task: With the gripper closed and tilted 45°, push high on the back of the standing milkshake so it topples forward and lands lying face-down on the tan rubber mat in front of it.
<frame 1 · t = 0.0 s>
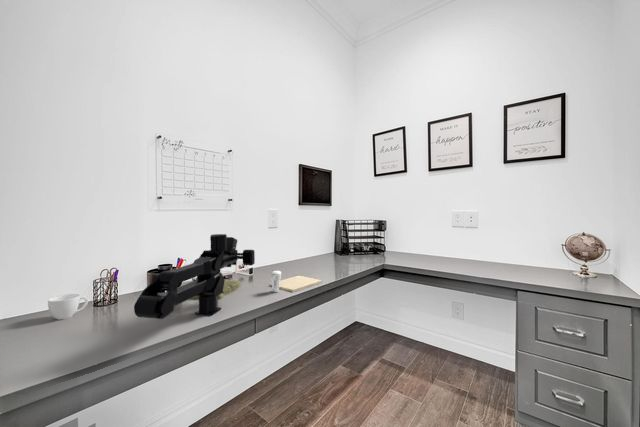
hand: (242, 253, 120), 17 cm above the table, tool horizontal, fingers open, 9 cm apart
cup: (69, 316, 92), on the table
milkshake: (275, 291, 119), on the table
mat: (296, 284, 130), on the table
olive green cushion: (213, 293, 119), on the table
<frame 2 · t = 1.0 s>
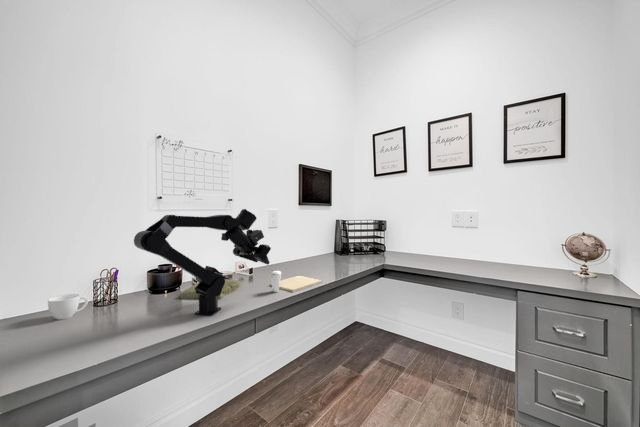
hand: (263, 262, 114), 14 cm above the table, tool tilted 45°, fingers open, 7 cm apart
nothing on the table moved.
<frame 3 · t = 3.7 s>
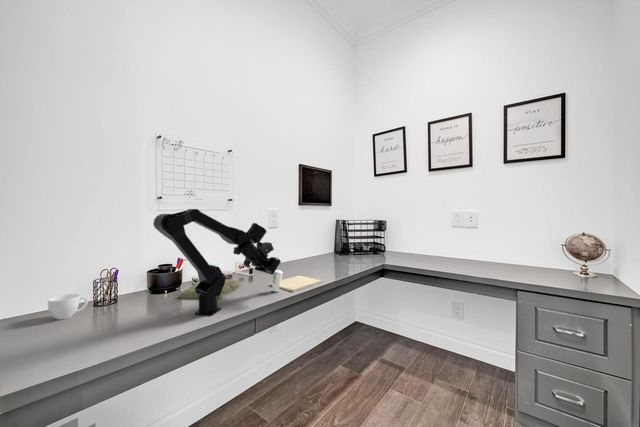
hand: (272, 273, 118), 8 cm above the table, tool tilted 45°, fingers closed
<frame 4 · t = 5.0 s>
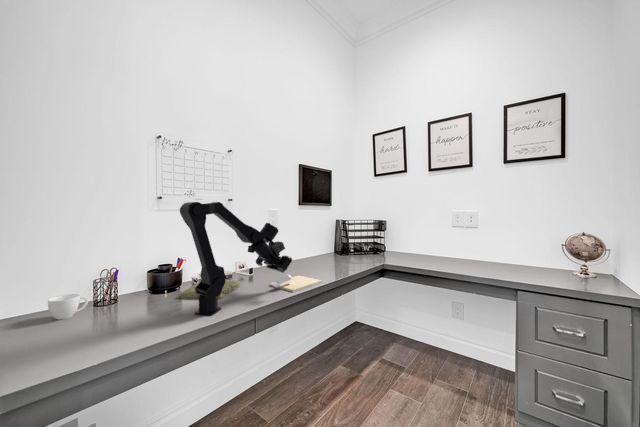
hand: (283, 271, 123), 8 cm above the table, tool tilted 45°, fingers closed
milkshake: (275, 285, 120), point 2 cm above the table, touching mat
everything else where it was.
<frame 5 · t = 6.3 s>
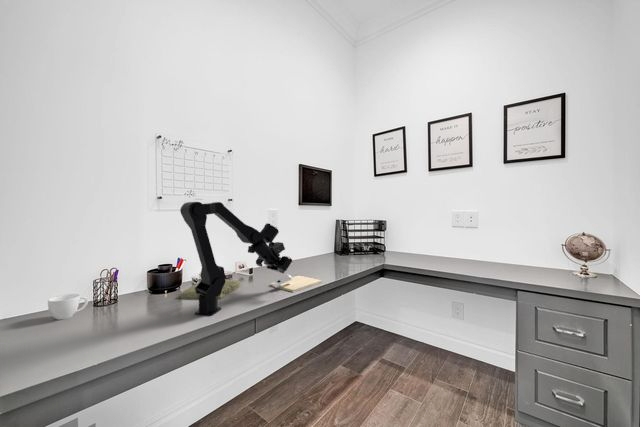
hand: (283, 272, 123), 7 cm above the table, tool tilted 45°, fingers closed
nothing on the table moved.
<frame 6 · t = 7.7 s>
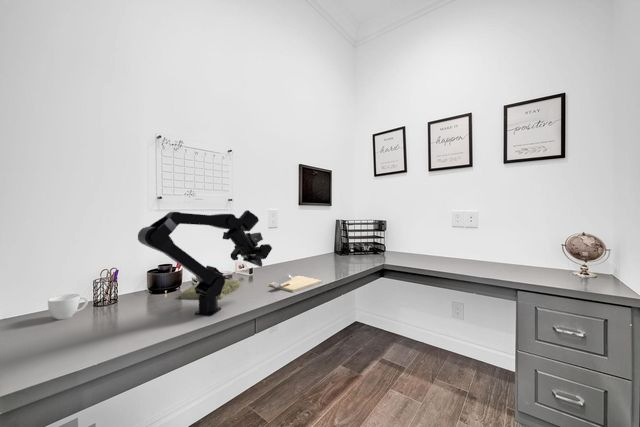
hand: (261, 265, 113), 12 cm above the table, tool tilted 40°, fingers closed
nothing on the table moved.
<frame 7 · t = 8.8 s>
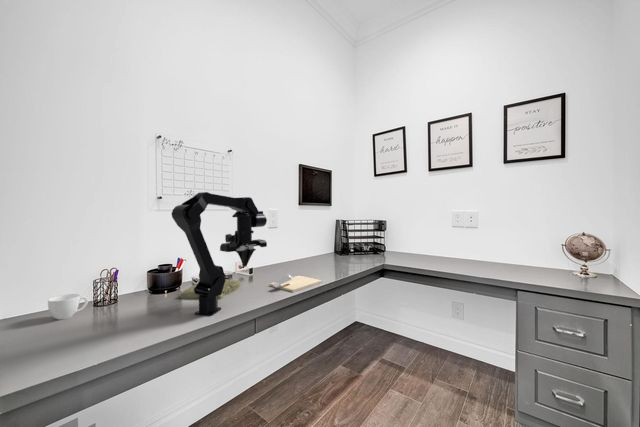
hand: (244, 266, 110), 13 cm above the table, tool pointing down, fingers closed
nothing on the table moved.
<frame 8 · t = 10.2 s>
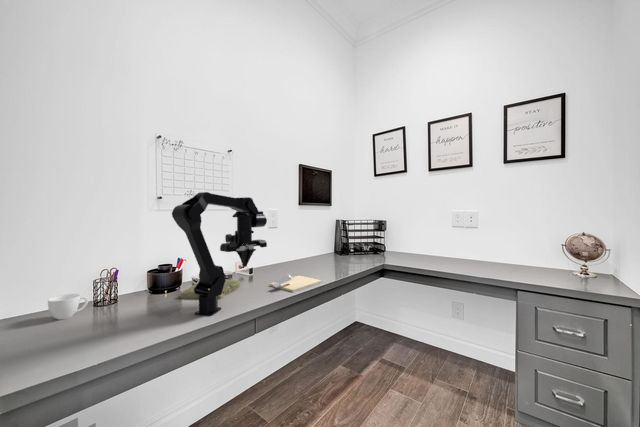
hand: (244, 266, 110), 13 cm above the table, tool pointing down, fingers closed
nothing on the table moved.
at the end: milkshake tilted 84°; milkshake touching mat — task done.
